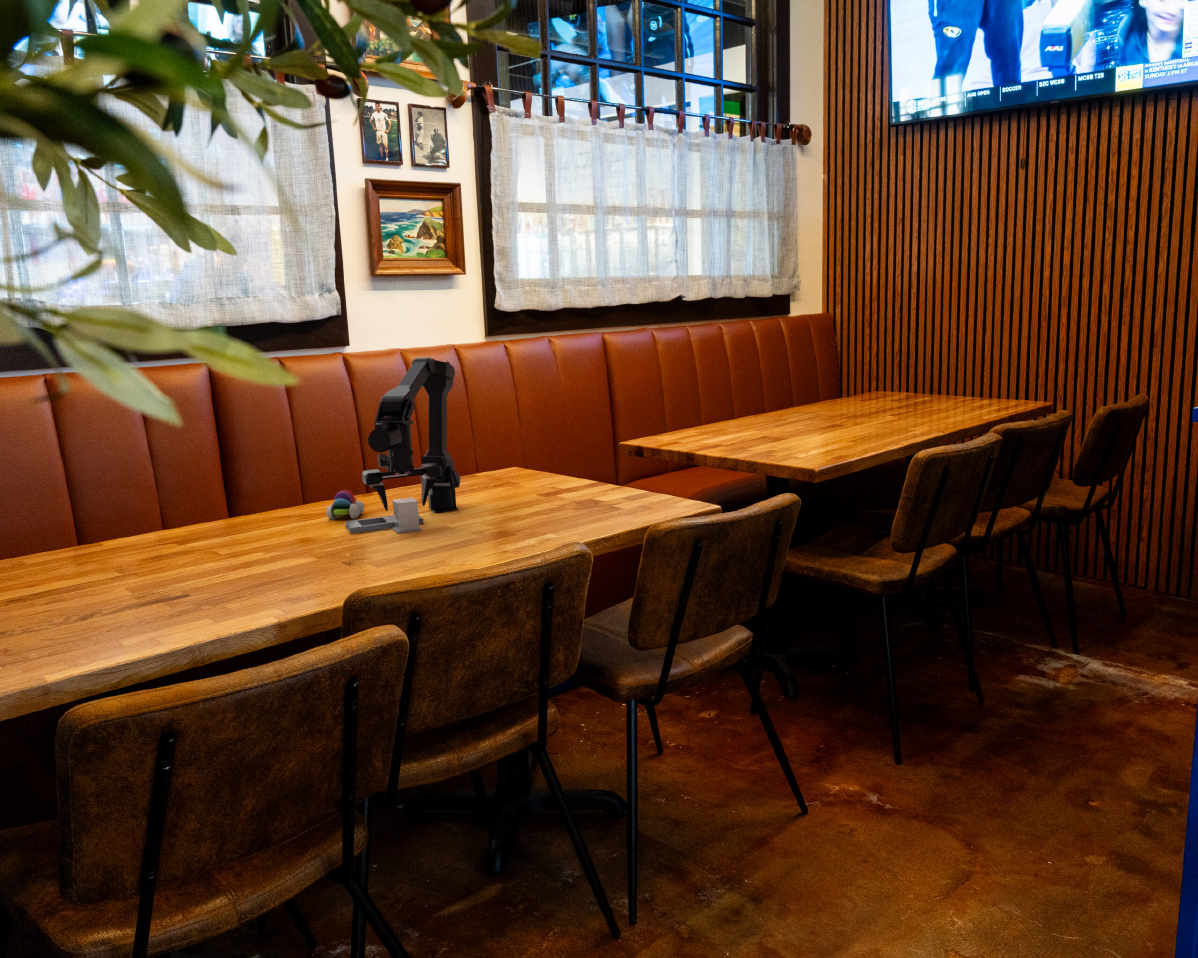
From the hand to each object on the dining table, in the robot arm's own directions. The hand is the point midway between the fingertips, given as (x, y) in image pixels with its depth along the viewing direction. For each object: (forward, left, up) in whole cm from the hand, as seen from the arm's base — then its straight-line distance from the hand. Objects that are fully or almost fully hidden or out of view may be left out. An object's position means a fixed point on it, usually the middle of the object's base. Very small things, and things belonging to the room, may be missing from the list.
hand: (405, 508), depth 243 cm
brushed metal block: (0, 0, -5) cm, 5 cm away
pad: (0, 0, -6) cm, 6 cm away
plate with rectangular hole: (+4, -8, -6) cm, 10 cm away
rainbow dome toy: (+11, -24, -6) cm, 27 cm away
